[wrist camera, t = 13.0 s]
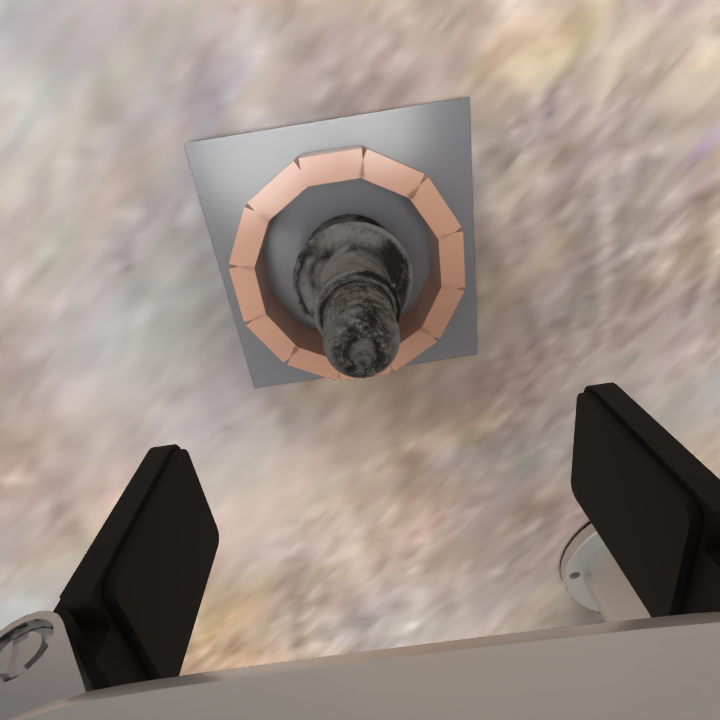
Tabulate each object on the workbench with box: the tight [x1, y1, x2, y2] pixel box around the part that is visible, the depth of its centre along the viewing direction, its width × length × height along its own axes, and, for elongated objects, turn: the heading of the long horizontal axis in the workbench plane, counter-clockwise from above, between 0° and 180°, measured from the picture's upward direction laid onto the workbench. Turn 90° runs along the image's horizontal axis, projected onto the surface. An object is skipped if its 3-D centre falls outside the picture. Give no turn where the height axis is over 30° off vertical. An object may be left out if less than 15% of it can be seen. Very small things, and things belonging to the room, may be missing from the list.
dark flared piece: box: [293, 214, 414, 378], centre depth 20 cm, size 6×6×12 cm
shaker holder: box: [183, 97, 477, 388], centre depth 25 cm, size 14×14×4 cm
